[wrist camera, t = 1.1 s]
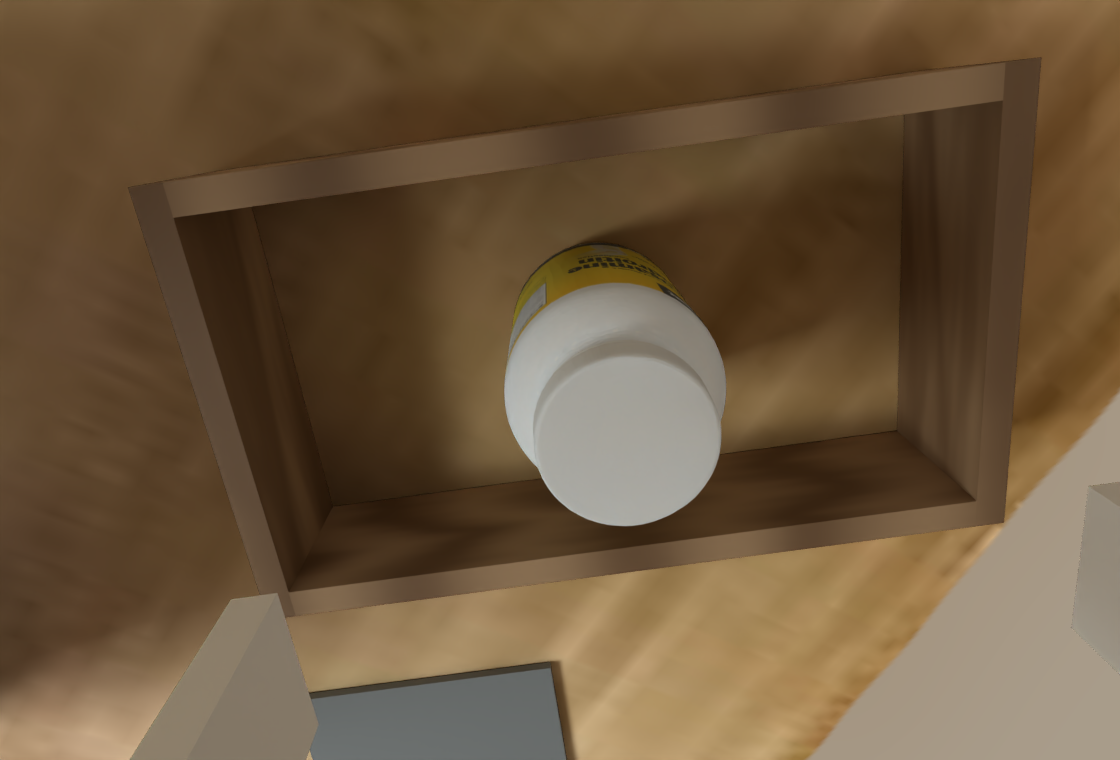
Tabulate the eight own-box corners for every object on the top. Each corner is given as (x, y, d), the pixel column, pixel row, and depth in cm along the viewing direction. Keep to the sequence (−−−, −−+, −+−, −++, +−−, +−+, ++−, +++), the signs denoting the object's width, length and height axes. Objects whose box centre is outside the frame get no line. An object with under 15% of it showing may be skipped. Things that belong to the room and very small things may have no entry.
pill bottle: (710, 323, 29) (814, 448, 18) (590, 428, 31) (621, 602, 20) (599, 201, 28) (641, 260, 17) (477, 319, 29) (442, 443, 18)
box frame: (315, 530, 32) (268, 619, 26) (213, 171, 27) (127, 187, 21) (920, 449, 32) (1003, 522, 26) (933, 69, 26) (1041, 57, 21)
